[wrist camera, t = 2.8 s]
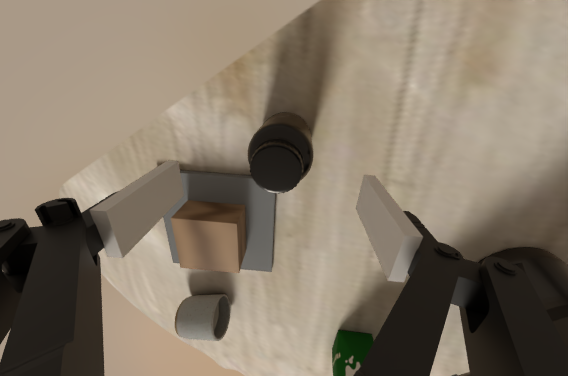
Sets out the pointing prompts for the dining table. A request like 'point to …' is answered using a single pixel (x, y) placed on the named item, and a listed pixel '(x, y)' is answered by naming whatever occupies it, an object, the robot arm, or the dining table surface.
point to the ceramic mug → (203, 317)
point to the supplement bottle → (280, 153)
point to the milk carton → (350, 352)
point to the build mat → (232, 192)
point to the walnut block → (210, 235)
